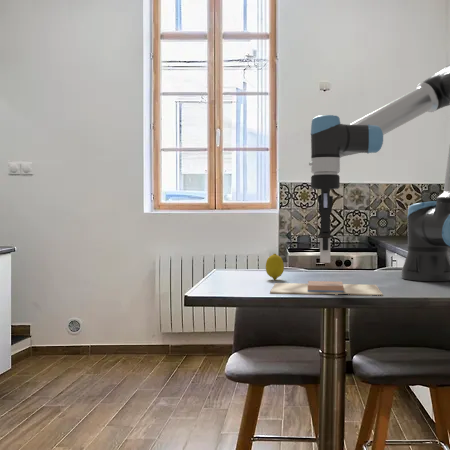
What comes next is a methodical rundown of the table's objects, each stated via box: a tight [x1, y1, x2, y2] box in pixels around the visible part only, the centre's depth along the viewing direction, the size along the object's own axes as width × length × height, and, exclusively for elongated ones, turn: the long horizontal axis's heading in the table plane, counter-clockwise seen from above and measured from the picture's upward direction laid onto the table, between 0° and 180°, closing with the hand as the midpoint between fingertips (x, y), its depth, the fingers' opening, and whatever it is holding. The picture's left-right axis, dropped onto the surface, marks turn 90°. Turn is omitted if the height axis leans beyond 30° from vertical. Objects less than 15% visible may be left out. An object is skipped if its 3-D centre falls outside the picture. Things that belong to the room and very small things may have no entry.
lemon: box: [265, 253, 285, 280], centre depth 179 cm, size 6×6×8 cm
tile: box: [307, 280, 344, 292], centre depth 154 cm, size 9×2×9 cm
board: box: [269, 282, 384, 297], centre depth 157 cm, size 28×18×1 cm, turn 81°
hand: (325, 262), depth 157 cm, fingers closed
